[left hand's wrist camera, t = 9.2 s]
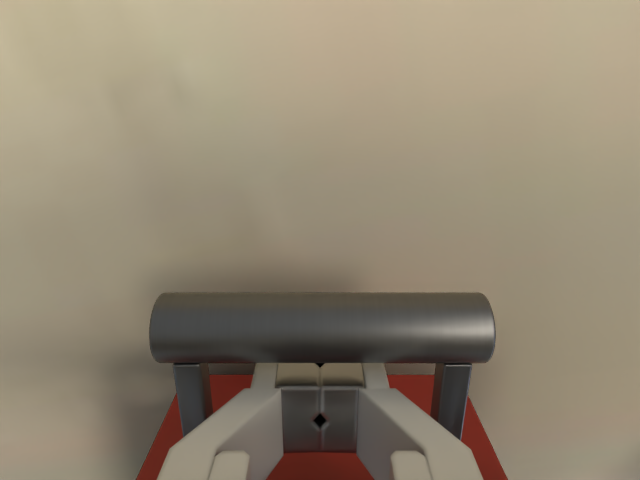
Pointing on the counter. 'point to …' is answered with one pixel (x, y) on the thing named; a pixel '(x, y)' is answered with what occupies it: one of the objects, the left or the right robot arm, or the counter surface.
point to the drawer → (323, 359)
